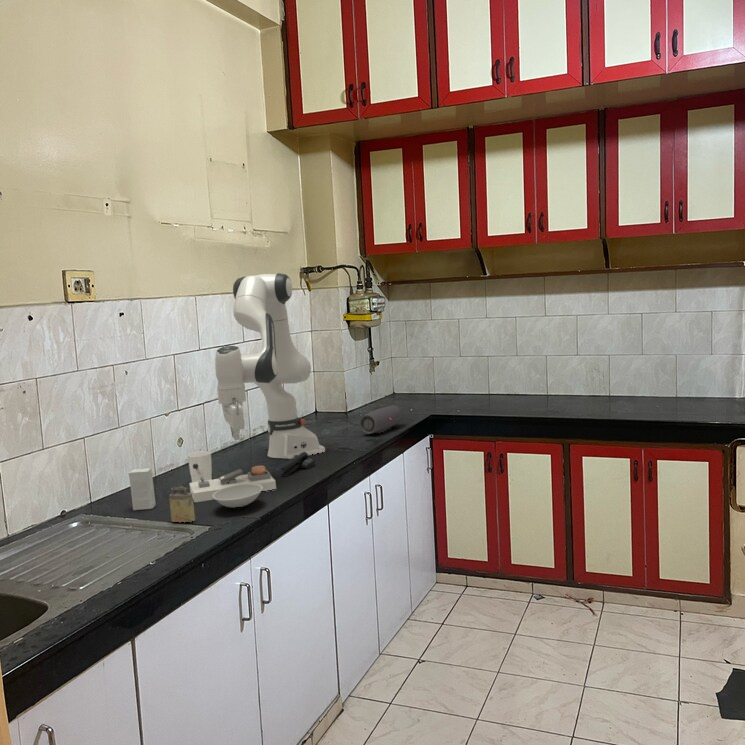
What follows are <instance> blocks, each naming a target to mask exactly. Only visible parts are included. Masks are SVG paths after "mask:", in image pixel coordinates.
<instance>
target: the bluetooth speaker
mask: <svg viewBox="0 0 745 745" xmlns="http://www.w3.org/2000/svg"><path fill="white" fill-rule="evenodd" d="M402 419H403V413H402V410H401V409H400V408H399V407H398V406H397V405H389V406H385V407H381V408H378V409H375V410H372V411H370V412H368V413H366V414H363V415H362V417H361V418H360V419H359V422H358V423H359V424H358V425H359V428H360V430H361V431H362V432H363V433H364V434H367V435H370V434H371V435H372V434H374V433H380V434H382V433H381V432H383V433H385V432H387V431H386V430H388V429H389V430H391V428H392V427H394V426H395V425H398V424H399V423H400V422H401V421H402ZM389 430H388V431H389ZM384 431H385V432H384Z"/></svg>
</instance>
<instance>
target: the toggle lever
mask: <svg viewBox="0 0 745 745" xmlns="http://www.w3.org/2000/svg"><path fill="white" fill-rule="evenodd" d="M193 468H194V469H195V470H196V472H197V474H198V476H199V478H200V480H201V481H202V482H204V478H203V476H202V474H201V472H200V470H199V468H198V464H193Z"/></svg>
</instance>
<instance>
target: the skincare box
mask: <svg viewBox="0 0 745 745" xmlns="http://www.w3.org/2000/svg"><path fill="white" fill-rule="evenodd" d="M128 477H129V484H130V494H131V501H132V503H131V504H132V510H133V511H139V510H140V511H141V510H151V509H153V508H154V507H155V506H156V498H155V490H154V479H153V472H152V468H151V467H150V468H138V469H137V468H135V469H132V470H130V471H129V472H128Z"/></svg>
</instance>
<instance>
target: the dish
mask: <svg viewBox="0 0 745 745" xmlns="http://www.w3.org/2000/svg"><path fill="white" fill-rule="evenodd" d="M262 490H263V486H262V485H259V484H252V483H249V484H238V485H233V486H229V487H225V488H222V489H220V490H218V491H216V492H215V493H214V494H213V495H212V498H213V499H214V500H215V502H218V504H220V505H222V506H224V507H226V508H232V509H234V508H236V507H242V508H243V507H246V506H248V505H250V504H251V503H253V502H254V501H255V500H256V499H257V498H258V497H259V495H260V493H262V492H261V491H262Z"/></svg>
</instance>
